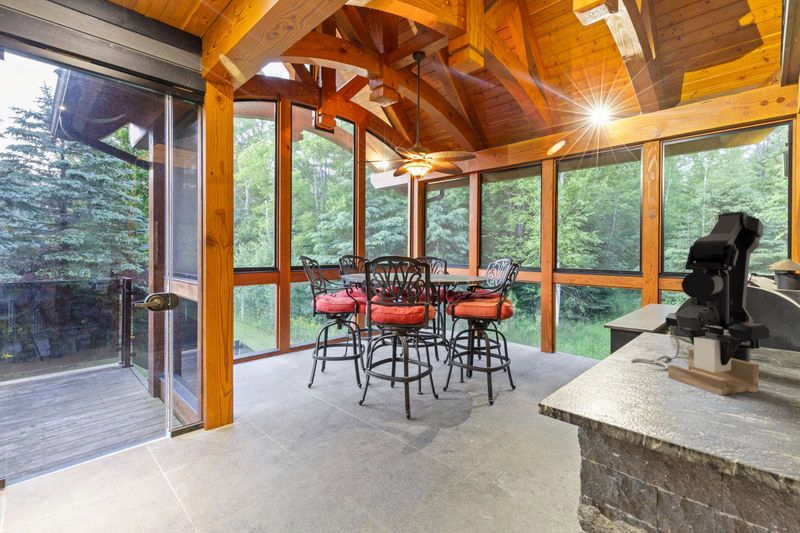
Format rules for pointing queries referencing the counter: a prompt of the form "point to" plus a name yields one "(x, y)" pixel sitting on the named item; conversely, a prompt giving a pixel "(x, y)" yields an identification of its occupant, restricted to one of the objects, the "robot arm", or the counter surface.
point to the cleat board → (719, 377)
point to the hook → (659, 357)
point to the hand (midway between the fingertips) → (712, 362)
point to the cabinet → (709, 353)
